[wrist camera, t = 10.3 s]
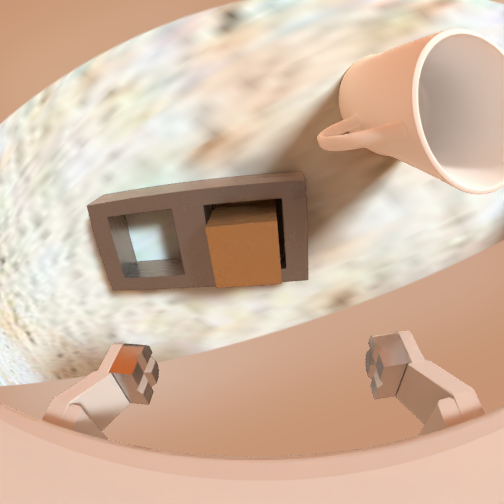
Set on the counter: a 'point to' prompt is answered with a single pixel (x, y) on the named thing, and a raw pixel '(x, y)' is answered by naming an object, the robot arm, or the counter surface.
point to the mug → (429, 108)
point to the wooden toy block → (244, 243)
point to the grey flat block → (195, 228)
